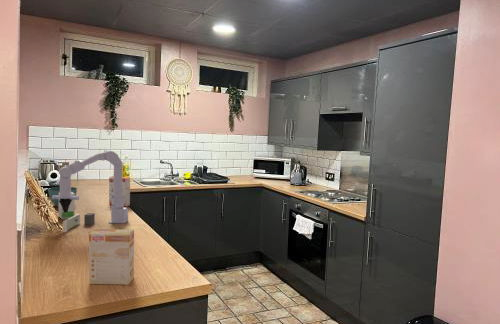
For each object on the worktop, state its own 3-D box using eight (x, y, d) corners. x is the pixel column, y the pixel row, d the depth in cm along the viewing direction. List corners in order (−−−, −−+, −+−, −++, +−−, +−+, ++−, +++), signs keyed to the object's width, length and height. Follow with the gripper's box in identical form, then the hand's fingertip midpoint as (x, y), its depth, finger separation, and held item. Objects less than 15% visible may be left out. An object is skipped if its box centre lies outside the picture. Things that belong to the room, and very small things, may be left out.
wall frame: (80, 223, 218) (80, 213, 217) (65, 232, 200) (65, 220, 200) (77, 223, 218) (77, 212, 217) (62, 232, 200) (62, 220, 200)
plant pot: (49, 203, 266) (49, 187, 265) (77, 202, 274) (76, 186, 273) (47, 209, 250) (47, 191, 249) (77, 207, 258) (76, 190, 257)
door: (79, 224, 215) (79, 215, 214) (70, 229, 205) (70, 219, 204) (75, 224, 215) (75, 215, 214) (67, 229, 205) (66, 219, 204)
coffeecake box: (134, 277, 146) (134, 229, 144) (129, 285, 139) (129, 234, 137) (95, 276, 145) (95, 228, 143) (88, 284, 138) (88, 233, 136)
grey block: (94, 223, 221) (94, 213, 220) (90, 225, 216) (90, 215, 215) (88, 222, 221) (88, 213, 220) (84, 225, 216) (84, 215, 215)
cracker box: (108, 205, 269) (108, 176, 267) (113, 203, 275) (114, 175, 273) (125, 207, 265) (125, 178, 263) (130, 205, 271) (130, 177, 269)
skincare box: (60, 219, 226) (60, 194, 225) (58, 217, 231) (57, 192, 230) (75, 217, 231) (75, 193, 230) (72, 215, 236) (72, 191, 235)
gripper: (48, 189, 204) (49, 213, 206) (75, 190, 204) (75, 214, 206) (55, 186, 211) (55, 210, 213) (80, 187, 211) (80, 211, 213)
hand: (65, 212), depth 210 cm, fingers closed
